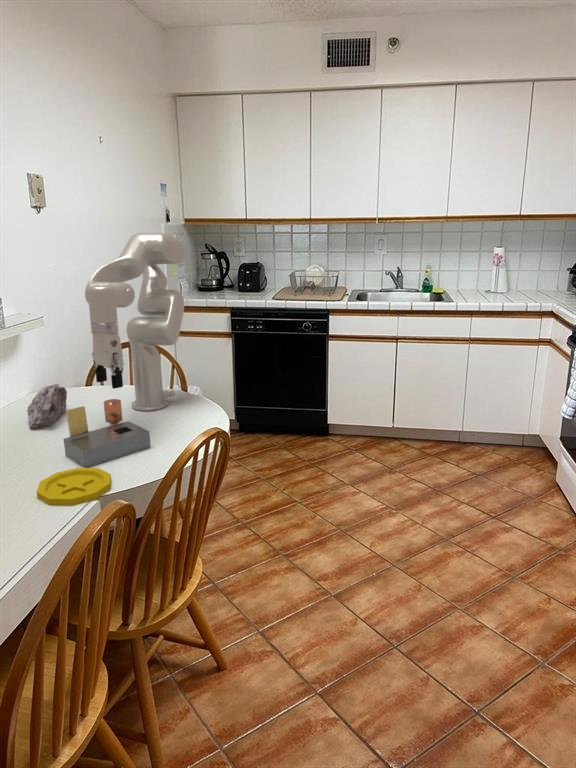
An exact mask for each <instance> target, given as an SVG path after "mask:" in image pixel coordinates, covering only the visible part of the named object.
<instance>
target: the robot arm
mask: <svg viewBox="0 0 576 768" xmlns="http://www.w3.org/2000/svg"><path fill="white" fill-rule="evenodd" d="M185 257H186V248H185V245H184V243H183V242H182V240H180V239H179V238H177V237H175V236H172V235H170V234H167V233H164V232H138V233H135V234H133V235H131V236H130V238H129V239H128V241H127V242H126V244H125V246H124V248H123V249H122V252H121V253H120V255H119V256H118V258H116V259H113V260H111V261H110V262H107V263H106V264H105V265H103V266H101V267H100V268H98V269H96V271H94V273H93V274H92V276H91V277H90V279H89V280H88V282H87V283H86V286H85V291H84V298H85V300H86V303H88V310H89V320H90V321H89V322H90V330H91V332H90V333H91V335H92V353H91V356H92V358H93V365H94V370H95V371H94V372H95V378H96V379H95V381H96V383H102V382H107V380H108V374H107V369H109V370H110V372H111V377H110V378H111V388H112V389H115V390H116V389H120V388H123V387H124V383H123V374H124V372H123V370H124V365H125V361H124V355H123V348H122V343H121V337H120V334H119V323H118V322H119V321H118V313H117V312H118V311H117V310H118V309H117V308H128V307H129V306H131V305H132V304H133V302H134V300H135V297H136V296H135V295H136V293H135V289H134V288H133V286H132V285H131V284H129V283H127V282H128V281H130V280H134V279H136V278H139V277H140V276H141V275H142V281H141V286H140V291H139V295H138V300H137V304H136V305H137V312H138V313H139V314H140V315H142V316H136V317H133V318H131V319H130V320H129V321H128V322H127V324H126V335H127V338H128V343H129V345H130V352H131V358H132V359H131V360H132V361H131V362H132V369H133V370H132V372H133V382H134V383H133V385H134V395H135V400H133V401H132V402H131V408H132V409H133V410H136V411H139V412H140V411H141V412H150V411H157V410H162V409H164V408H166V407H167V406H169V401H168V397H170V398H171V397H174V396H175V395H176V391H175V390H170V391H168V390H164V389H163V386H164V385H163V376H162V375H163V372H162V361H161V360H162V359H161V354H160V352H159V350H158V349H157V347H156V346H173V345H175V344H177V342H178V339H179V337H180V334H181V333H180V332H181V326H182V323H183V316H184V310H185V299H184V297H183V296H184V295H183V294H182V293H181V291H178V290H176V289H167V287H168V278H167V276H166V274H165V273H164V271H163V270H162V269H161V268H160V267H159V265H180V264H182V262H184V260H185Z"/></svg>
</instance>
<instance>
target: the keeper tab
mask: <svg viewBox="0 0 576 768" xmlns="http://www.w3.org/2000/svg"><path fill="white" fill-rule="evenodd" d="M85 407H86V406H84V405H82V406H79V407H73V408H69V409H66V410H65V412H66V419H67V425H68V426H67V427H68V431H69V437H75V436H78V435H82V434H86V433H88V432H90V431H89V425H88V420H87V419H88V418H87V412H86V408H85Z"/></svg>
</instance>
